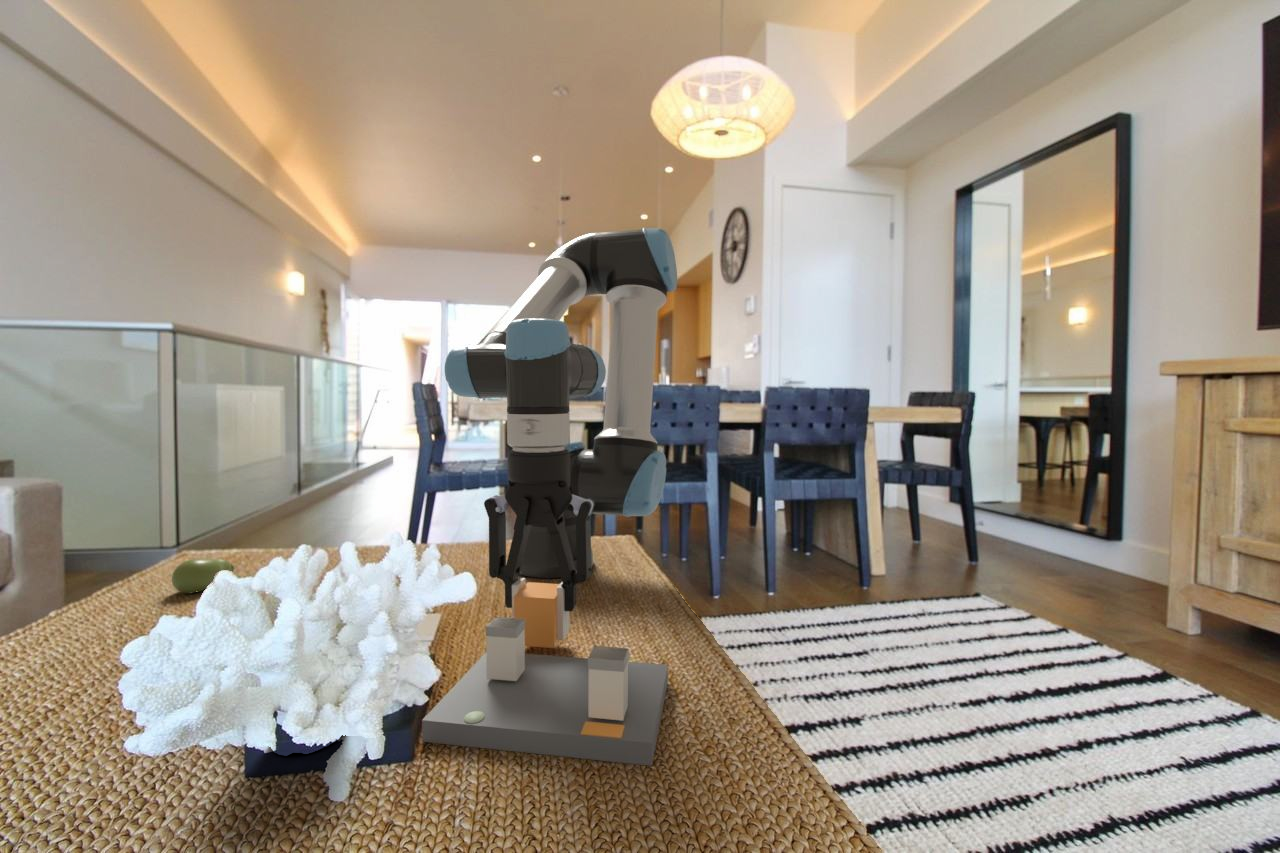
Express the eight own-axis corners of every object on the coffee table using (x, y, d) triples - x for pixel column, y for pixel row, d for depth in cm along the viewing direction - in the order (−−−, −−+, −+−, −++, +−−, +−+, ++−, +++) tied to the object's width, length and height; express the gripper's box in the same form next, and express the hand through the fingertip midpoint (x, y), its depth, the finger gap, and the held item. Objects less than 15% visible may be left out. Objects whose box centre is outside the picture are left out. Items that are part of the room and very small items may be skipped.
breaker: (495, 667, 59) (495, 616, 58) (525, 669, 58) (525, 618, 58) (485, 678, 56) (485, 626, 56) (516, 681, 56) (516, 628, 55)
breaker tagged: (594, 702, 52) (594, 645, 52) (628, 705, 51) (628, 648, 51) (587, 717, 49) (587, 658, 49) (623, 720, 49) (623, 660, 49)
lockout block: (528, 627, 71) (528, 582, 70) (565, 630, 70) (565, 584, 70) (514, 645, 66) (513, 596, 66) (554, 648, 65) (554, 598, 65)
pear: (164, 561, 85) (211, 554, 95) (160, 596, 84) (209, 585, 94) (200, 560, 85) (244, 554, 95) (197, 595, 85) (242, 585, 95)
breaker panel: (487, 667, 63) (487, 649, 63) (667, 682, 60) (668, 663, 60) (422, 741, 49) (422, 719, 49) (651, 765, 46) (652, 741, 46)
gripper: (454, 450, 64) (459, 642, 66) (604, 453, 61) (605, 653, 63) (482, 444, 72) (485, 616, 73) (617, 446, 69) (617, 625, 70)
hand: (541, 633), depth 68 cm, fingers closed on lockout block, 5 cm apart
